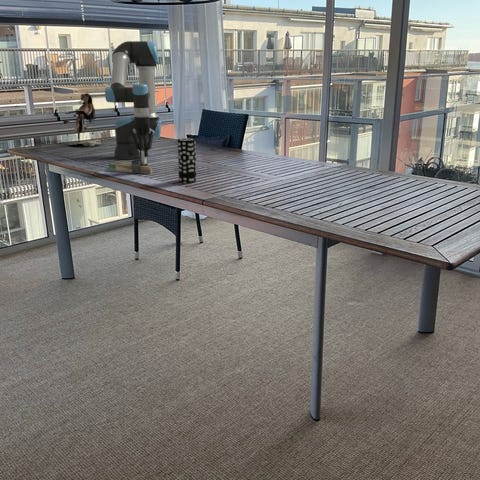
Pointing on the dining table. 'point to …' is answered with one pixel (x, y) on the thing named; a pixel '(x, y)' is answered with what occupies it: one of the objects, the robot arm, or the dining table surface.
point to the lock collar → (137, 165)
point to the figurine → (86, 113)
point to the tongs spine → (129, 168)
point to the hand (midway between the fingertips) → (144, 163)
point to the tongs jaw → (127, 163)
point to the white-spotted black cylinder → (187, 160)
